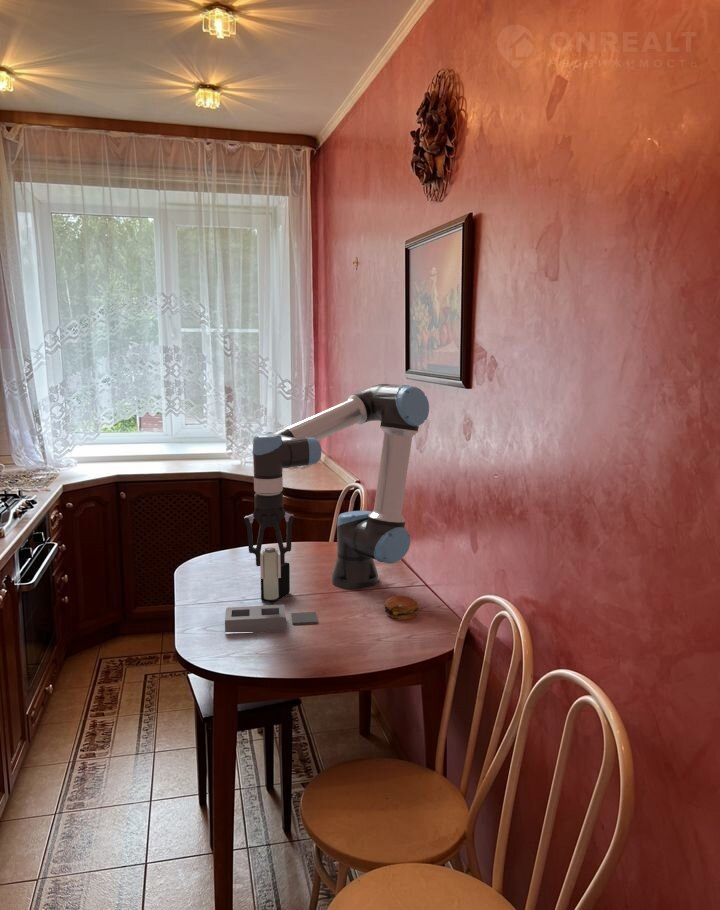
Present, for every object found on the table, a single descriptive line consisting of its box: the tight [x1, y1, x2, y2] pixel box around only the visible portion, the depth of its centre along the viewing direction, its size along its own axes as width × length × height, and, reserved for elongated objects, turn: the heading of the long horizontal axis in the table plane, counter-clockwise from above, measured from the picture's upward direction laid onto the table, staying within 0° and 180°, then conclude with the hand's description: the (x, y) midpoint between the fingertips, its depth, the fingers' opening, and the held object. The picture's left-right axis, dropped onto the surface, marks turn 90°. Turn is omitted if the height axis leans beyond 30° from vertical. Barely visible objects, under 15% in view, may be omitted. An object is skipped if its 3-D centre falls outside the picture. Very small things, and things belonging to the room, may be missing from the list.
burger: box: [384, 595, 420, 621], centre depth 194 cm, size 10×9×5 cm
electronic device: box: [260, 561, 291, 604], centre depth 206 cm, size 4×10×10 cm, turn 155°
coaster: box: [290, 611, 319, 626], centre depth 190 cm, size 7×7×1 cm
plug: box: [262, 547, 279, 600], centre depth 183 cm, size 4×4×14 cm
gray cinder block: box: [224, 604, 287, 633], centre depth 185 cm, size 16×9×4 cm, turn 99°
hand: (270, 576), depth 184 cm, fingers closed on plug, 4 cm apart
